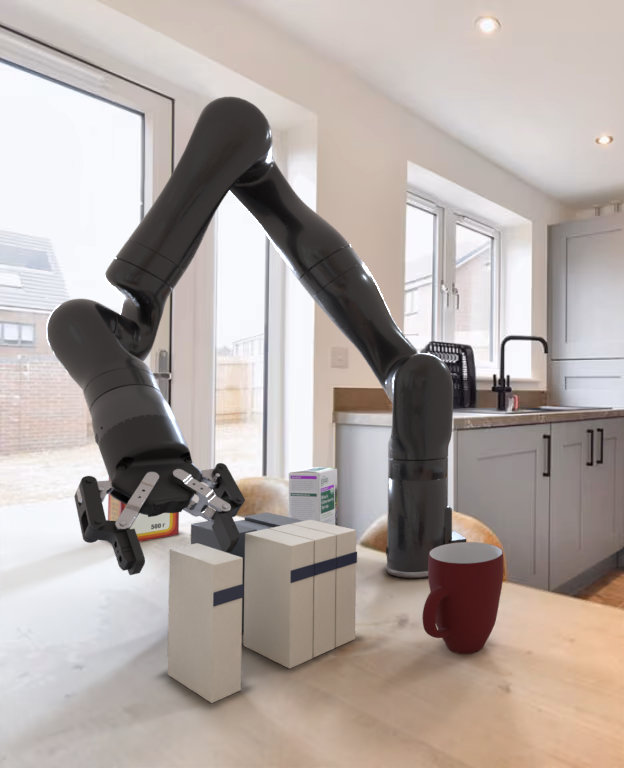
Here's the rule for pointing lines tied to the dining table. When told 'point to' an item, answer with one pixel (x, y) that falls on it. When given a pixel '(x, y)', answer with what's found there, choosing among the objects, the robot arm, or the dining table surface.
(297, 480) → the syrup box
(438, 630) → the mug
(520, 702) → the dining table surface
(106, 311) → the robot arm
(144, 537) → the baking soda box
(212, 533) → the grey books
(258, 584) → the white books
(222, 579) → the white book
